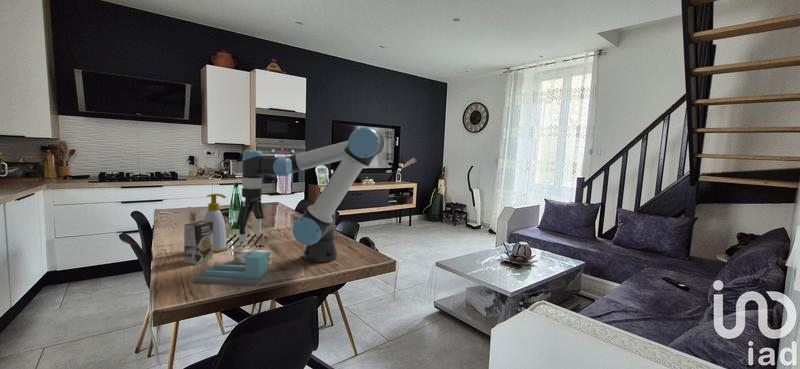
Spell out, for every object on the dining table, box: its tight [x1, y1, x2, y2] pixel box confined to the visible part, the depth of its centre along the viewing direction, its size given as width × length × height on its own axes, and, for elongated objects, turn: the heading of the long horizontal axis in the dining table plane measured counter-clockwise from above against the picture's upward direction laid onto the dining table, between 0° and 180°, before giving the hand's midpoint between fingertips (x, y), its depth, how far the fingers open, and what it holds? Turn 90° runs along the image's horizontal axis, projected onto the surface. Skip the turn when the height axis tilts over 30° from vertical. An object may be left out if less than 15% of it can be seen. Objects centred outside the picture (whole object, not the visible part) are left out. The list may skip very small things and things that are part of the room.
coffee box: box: [183, 220, 214, 265], centre depth 142 cm, size 9×6×16 cm
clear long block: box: [233, 248, 274, 265], centre depth 145 cm, size 15×4×5 cm, turn 90°
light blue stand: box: [192, 251, 271, 286], centre depth 127 cm, size 22×14×9 cm, turn 90°
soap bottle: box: [203, 193, 228, 254], centre depth 157 cm, size 11×12×26 cm
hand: (250, 237), depth 144 cm, fingers open, 13 cm apart
